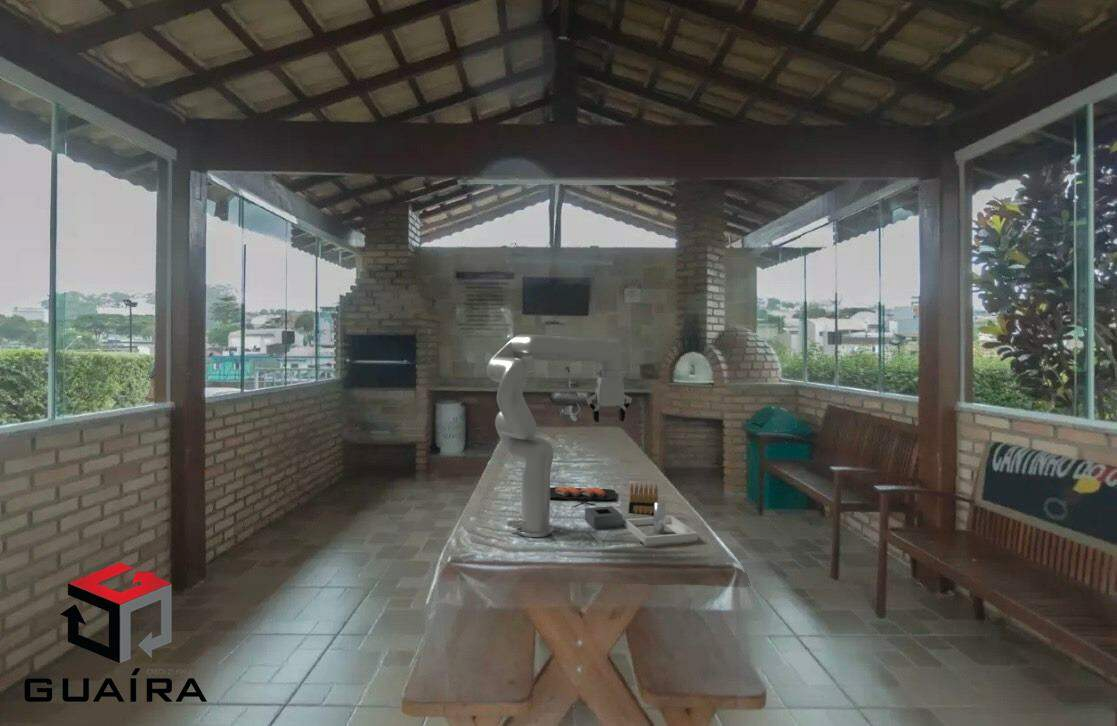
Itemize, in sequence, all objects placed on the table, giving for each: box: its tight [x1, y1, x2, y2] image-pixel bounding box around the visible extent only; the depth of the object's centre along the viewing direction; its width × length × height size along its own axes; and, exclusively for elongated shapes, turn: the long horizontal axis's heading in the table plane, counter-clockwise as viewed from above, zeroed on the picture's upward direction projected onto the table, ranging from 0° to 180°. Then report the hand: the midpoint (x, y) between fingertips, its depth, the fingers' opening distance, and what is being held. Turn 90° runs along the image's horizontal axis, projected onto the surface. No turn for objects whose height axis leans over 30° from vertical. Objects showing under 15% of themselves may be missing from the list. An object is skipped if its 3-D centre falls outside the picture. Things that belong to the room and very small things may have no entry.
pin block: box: [584, 505, 623, 530], centre depth 201 cm, size 10×10×5 cm
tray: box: [623, 515, 698, 548], centre depth 192 cm, size 18×18×3 cm
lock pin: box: [653, 500, 666, 535], centre depth 192 cm, size 4×4×10 cm
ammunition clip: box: [628, 482, 659, 517], centre depth 212 cm, size 11×2×12 cm, turn 83°
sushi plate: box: [550, 486, 617, 508], centre depth 229 cm, size 29×30×4 cm
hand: (609, 421), depth 212 cm, fingers open, 9 cm apart
